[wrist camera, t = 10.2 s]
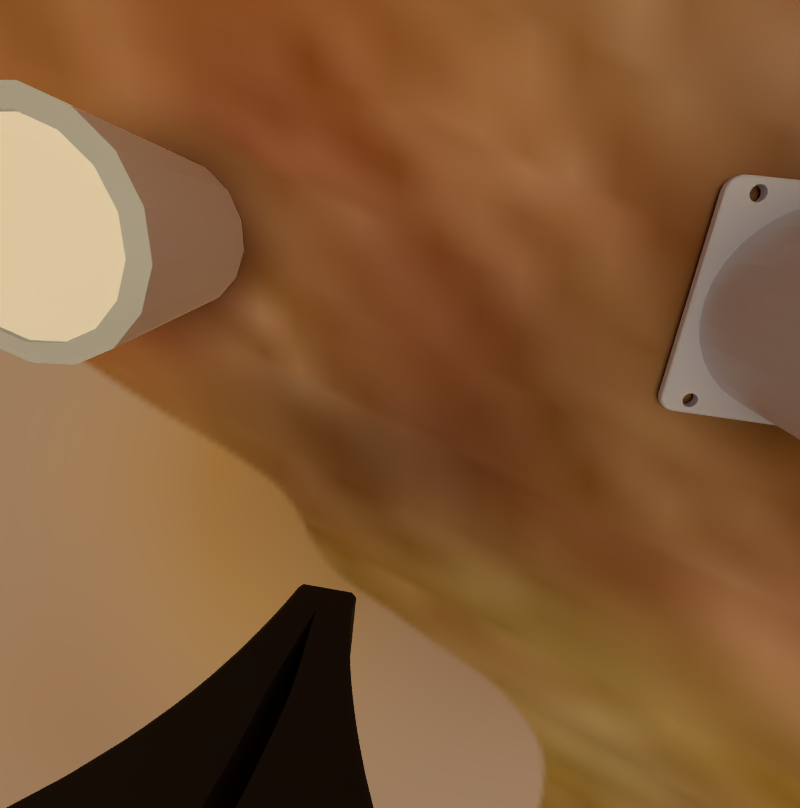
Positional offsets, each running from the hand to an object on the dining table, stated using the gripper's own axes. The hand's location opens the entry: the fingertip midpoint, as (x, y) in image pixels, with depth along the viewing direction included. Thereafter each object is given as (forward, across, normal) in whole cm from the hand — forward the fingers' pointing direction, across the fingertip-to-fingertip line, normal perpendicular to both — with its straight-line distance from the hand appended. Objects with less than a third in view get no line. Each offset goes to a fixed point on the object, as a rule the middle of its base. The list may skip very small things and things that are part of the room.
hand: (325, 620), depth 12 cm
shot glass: (+10, +9, -8) cm, 15 cm away
